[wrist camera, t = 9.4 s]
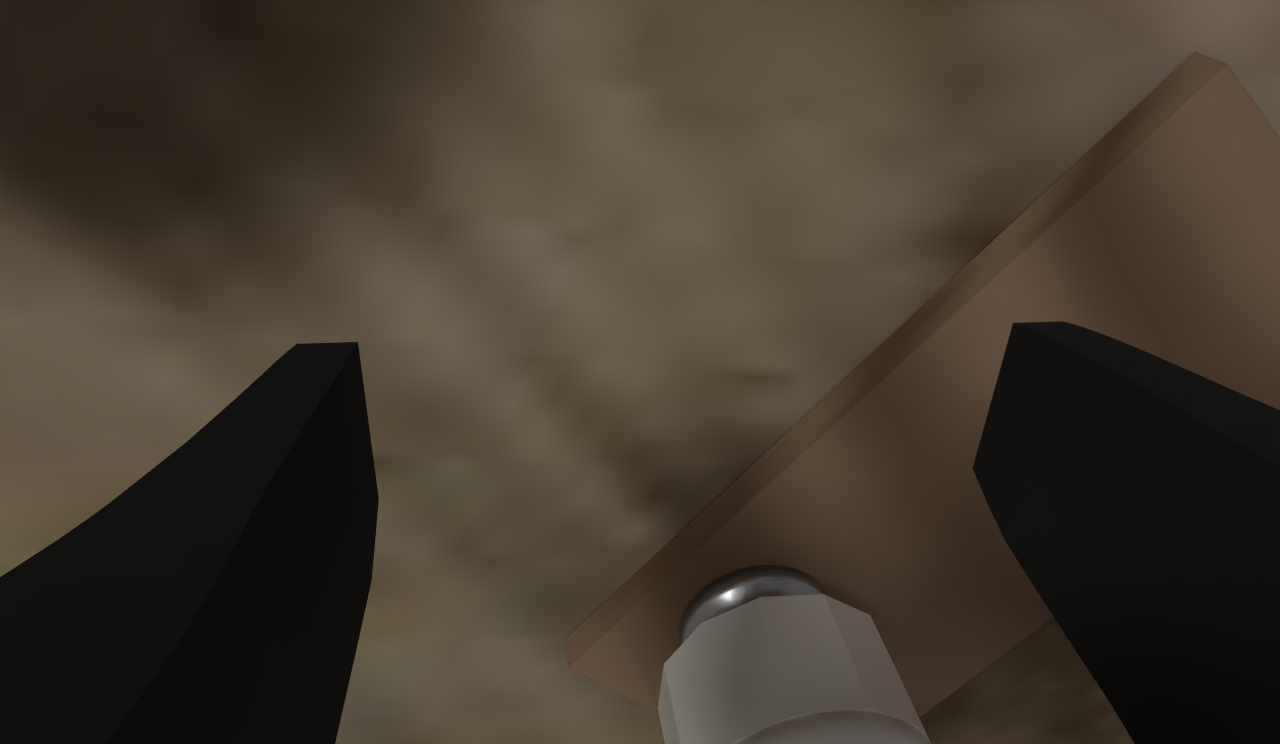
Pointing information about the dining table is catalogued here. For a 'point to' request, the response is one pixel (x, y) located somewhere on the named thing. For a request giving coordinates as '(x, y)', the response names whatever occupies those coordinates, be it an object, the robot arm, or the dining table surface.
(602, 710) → the dining table surface
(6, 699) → the robot arm
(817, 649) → the cap
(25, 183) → the dining table surface
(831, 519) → the post board
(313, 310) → the dining table surface
